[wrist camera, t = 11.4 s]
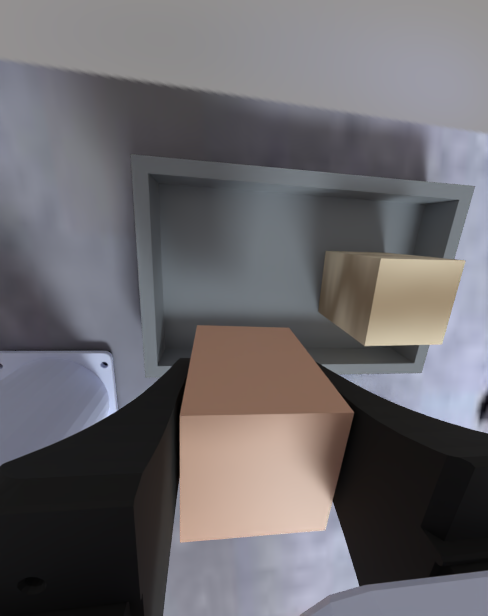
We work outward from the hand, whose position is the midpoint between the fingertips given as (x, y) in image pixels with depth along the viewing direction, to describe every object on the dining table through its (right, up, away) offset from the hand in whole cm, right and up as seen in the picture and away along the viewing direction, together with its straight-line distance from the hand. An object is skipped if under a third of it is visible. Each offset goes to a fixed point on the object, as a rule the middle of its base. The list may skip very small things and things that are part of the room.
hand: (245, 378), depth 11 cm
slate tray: (+3, +6, +8) cm, 10 cm away
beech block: (+8, +5, +7) cm, 12 cm away
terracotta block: (0, 0, +2) cm, 2 cm away
